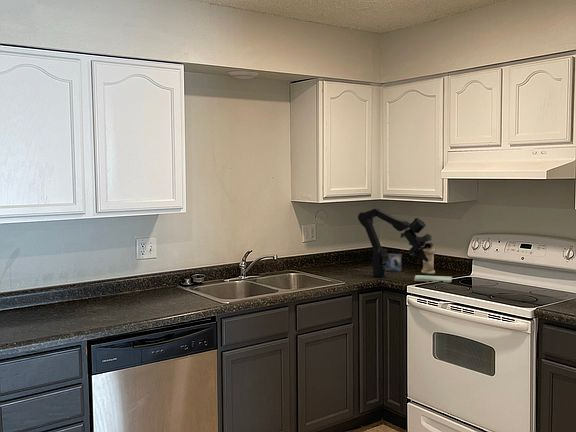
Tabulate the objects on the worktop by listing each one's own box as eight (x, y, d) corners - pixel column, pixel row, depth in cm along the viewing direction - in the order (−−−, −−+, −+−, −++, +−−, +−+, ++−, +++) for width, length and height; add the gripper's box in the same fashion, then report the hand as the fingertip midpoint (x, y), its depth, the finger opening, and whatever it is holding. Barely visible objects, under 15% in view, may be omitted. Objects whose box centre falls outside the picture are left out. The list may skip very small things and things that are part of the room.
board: (414, 280, 335) (414, 278, 334) (415, 277, 346) (415, 275, 346) (451, 282, 329) (451, 280, 329) (451, 278, 341) (451, 276, 341)
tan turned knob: (421, 273, 325) (421, 249, 324) (421, 271, 332) (421, 248, 331) (435, 273, 324) (435, 250, 323) (434, 271, 331) (435, 248, 330)
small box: (383, 271, 366) (383, 254, 366) (384, 269, 373) (384, 253, 372) (401, 272, 364) (401, 255, 363) (401, 270, 370) (402, 253, 370)
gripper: (414, 230, 322) (432, 252, 315) (430, 228, 336) (448, 249, 329) (400, 243, 327) (418, 266, 321) (417, 241, 341) (434, 262, 335)
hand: (430, 260), depth 326 cm, fingers closed on tan turned knob, 6 cm apart
